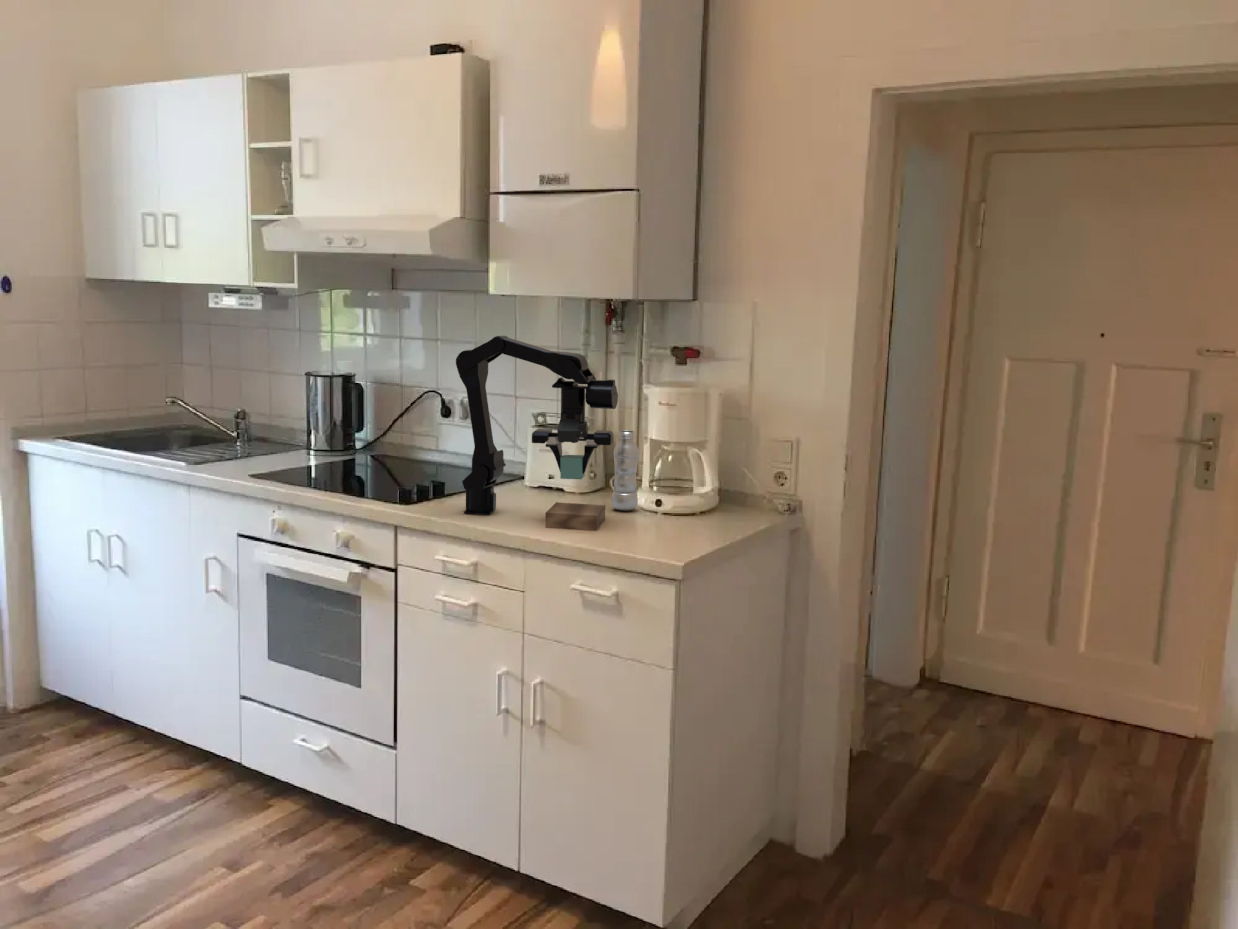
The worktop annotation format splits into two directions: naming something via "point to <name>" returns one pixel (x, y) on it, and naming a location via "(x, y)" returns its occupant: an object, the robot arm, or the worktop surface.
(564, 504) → the walnut box
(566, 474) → the teal cube
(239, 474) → the worktop surface
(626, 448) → the plastic bottle
